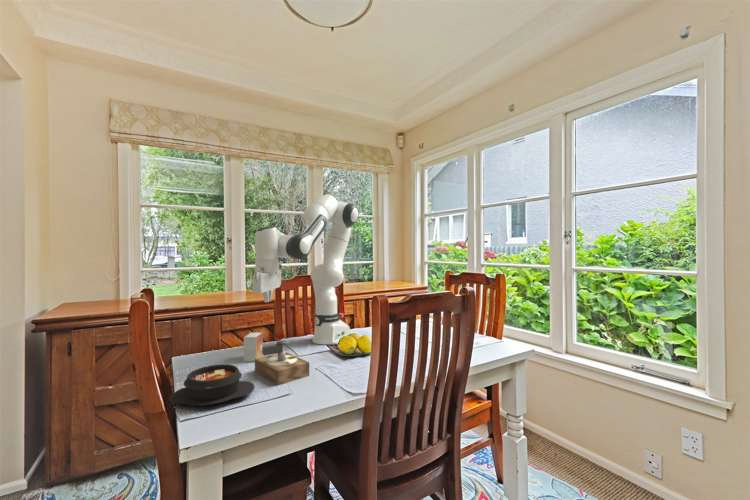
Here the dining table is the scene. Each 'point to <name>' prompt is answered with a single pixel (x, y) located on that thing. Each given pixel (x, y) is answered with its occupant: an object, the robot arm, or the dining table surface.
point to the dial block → (281, 368)
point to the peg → (276, 350)
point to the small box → (253, 346)
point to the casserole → (212, 386)
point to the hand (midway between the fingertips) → (267, 301)
